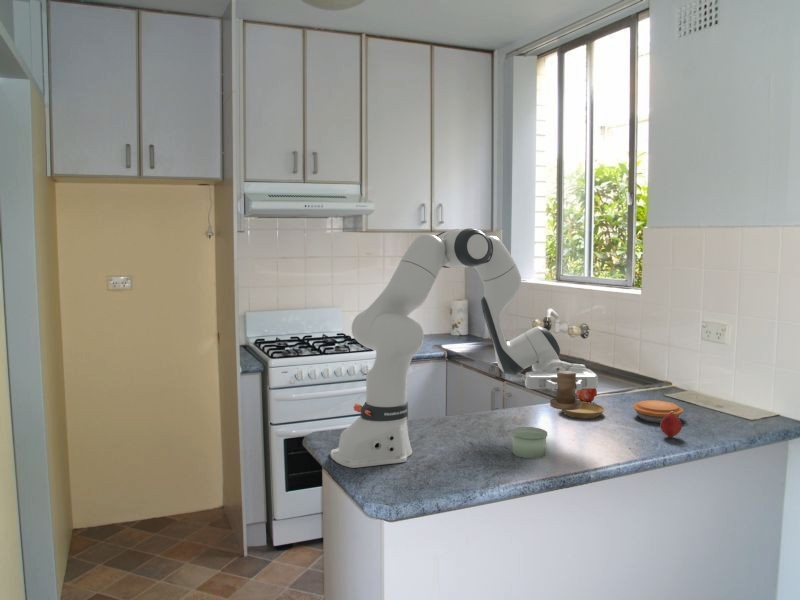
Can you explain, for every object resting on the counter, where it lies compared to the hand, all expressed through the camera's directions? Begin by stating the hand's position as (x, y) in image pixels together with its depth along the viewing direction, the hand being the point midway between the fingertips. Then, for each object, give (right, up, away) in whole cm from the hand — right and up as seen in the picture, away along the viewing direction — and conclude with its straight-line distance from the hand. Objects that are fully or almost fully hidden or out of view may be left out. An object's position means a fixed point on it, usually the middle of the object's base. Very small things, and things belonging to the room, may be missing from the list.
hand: (567, 386), depth 184 cm
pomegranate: (+21, -13, +58) cm, 63 cm away
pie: (+39, -15, +37) cm, 56 cm away
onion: (+35, -17, +16) cm, 42 cm away
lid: (0, -5, +2) cm, 6 cm away
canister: (-10, -19, +2) cm, 21 cm away
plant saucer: (+15, -15, +42) cm, 47 cm away
